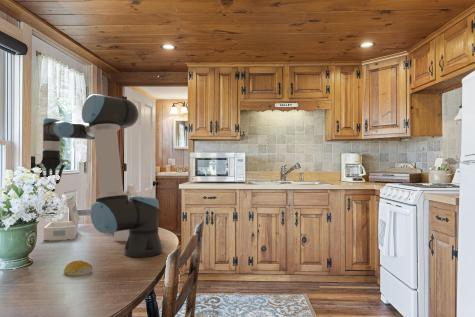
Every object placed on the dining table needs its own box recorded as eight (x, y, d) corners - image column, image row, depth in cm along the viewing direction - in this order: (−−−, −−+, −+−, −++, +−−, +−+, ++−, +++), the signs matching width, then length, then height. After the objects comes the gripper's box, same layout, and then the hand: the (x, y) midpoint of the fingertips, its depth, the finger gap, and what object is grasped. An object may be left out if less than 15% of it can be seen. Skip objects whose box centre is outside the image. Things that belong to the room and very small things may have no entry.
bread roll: (82, 267, 126) (82, 256, 126) (95, 273, 120) (96, 261, 120) (58, 273, 120) (59, 261, 120) (71, 279, 114) (71, 266, 114)
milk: (137, 241, 168) (138, 186, 168) (113, 240, 168) (114, 185, 168) (145, 236, 180) (146, 184, 180) (122, 235, 180) (123, 184, 180)
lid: (70, 196, 185) (73, 195, 185) (77, 220, 185) (80, 219, 186) (66, 199, 169) (69, 198, 169) (73, 225, 170) (76, 224, 170)
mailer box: (50, 233, 181) (50, 222, 182) (78, 232, 186) (78, 221, 186) (43, 240, 166) (43, 227, 166) (74, 239, 170) (74, 226, 170)
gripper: (67, 150, 180) (65, 197, 180) (38, 149, 176) (36, 197, 176) (64, 150, 173) (63, 199, 173) (34, 149, 169) (33, 199, 169)
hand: (50, 198), depth 174 cm, fingers closed
